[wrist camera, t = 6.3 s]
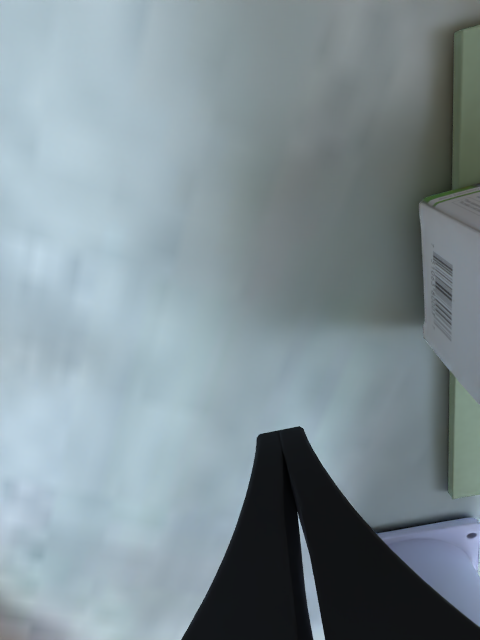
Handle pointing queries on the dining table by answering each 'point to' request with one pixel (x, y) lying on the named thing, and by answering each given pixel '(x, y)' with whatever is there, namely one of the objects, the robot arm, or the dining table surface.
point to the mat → (467, 169)
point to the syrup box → (453, 281)
